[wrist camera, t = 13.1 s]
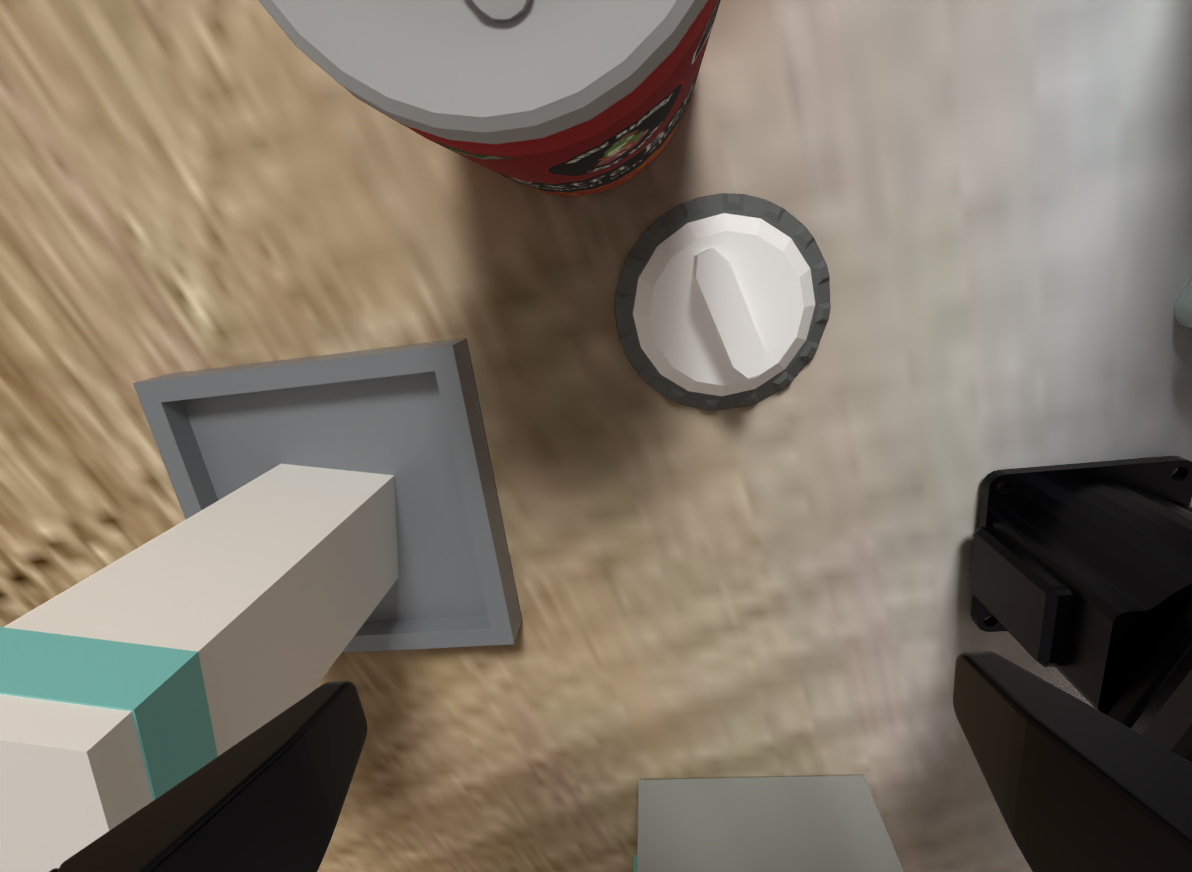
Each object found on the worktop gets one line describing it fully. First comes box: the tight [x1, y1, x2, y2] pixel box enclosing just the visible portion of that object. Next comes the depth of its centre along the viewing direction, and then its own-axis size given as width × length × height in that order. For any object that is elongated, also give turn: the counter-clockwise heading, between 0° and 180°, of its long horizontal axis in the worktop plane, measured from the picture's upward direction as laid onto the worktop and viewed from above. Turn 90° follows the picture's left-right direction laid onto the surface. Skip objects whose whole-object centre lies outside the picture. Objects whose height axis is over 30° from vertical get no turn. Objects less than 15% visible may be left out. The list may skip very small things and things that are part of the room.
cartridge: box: [0, 464, 399, 872], centre depth 16 cm, size 5×5×12 cm
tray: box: [133, 338, 522, 653], centre depth 22 cm, size 12×12×2 cm
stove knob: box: [615, 193, 830, 410], centre depth 18 cm, size 7×7×3 cm
